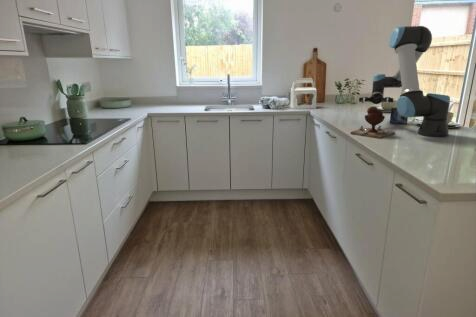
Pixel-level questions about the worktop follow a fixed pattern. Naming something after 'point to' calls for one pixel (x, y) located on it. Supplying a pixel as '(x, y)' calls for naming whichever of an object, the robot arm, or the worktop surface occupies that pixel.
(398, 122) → the small box
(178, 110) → the worktop surface
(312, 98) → the white lantern
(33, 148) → the worktop surface
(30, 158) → the worktop surface
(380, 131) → the stub board
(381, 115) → the ice cream bowl
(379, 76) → the robot arm
